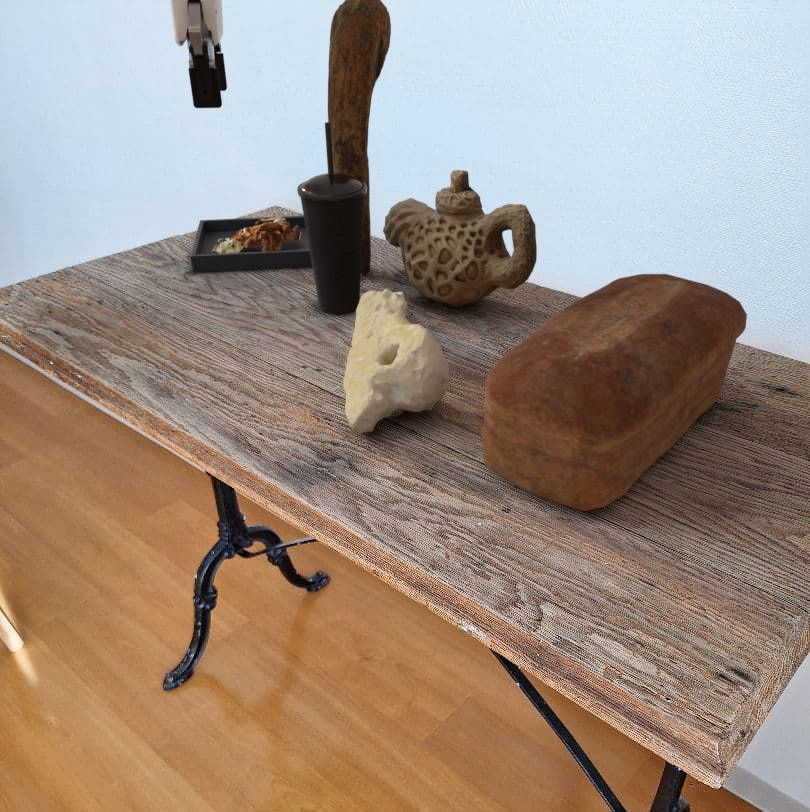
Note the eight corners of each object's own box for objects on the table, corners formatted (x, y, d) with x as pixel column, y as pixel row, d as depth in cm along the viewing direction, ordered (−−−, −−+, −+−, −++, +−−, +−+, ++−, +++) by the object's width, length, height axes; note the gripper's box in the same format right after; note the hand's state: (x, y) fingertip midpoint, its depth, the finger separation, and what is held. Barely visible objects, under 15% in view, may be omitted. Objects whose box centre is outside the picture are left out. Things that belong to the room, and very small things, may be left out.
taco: (206, 250, 110) (201, 223, 108) (280, 230, 116) (278, 204, 114) (232, 265, 106) (228, 237, 104) (308, 244, 112) (306, 217, 110)
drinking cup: (358, 322, 94) (349, 134, 81) (297, 314, 96) (279, 129, 83) (379, 296, 99) (374, 116, 87) (321, 289, 101) (307, 112, 88)
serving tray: (193, 272, 106) (190, 256, 105) (202, 234, 117) (199, 220, 115) (324, 266, 107) (323, 250, 106) (321, 229, 118) (320, 214, 117)
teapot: (359, 294, 100) (353, 164, 90) (419, 267, 107) (419, 143, 97) (500, 344, 89) (511, 203, 80) (557, 310, 96) (573, 176, 86)
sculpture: (396, 262, 108) (392, -8, 89) (389, 284, 102) (383, 0, 83) (345, 261, 109) (330, -9, 89) (335, 282, 103) (317, 0, 84)
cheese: (433, 470, 74) (506, 328, 75) (378, 432, 69) (456, 281, 71) (343, 446, 86) (407, 323, 87) (291, 411, 81) (360, 282, 82)
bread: (740, 398, 80) (775, 277, 72) (600, 541, 63) (627, 403, 55) (613, 358, 86) (632, 243, 79) (456, 477, 70) (461, 346, 62)
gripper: (162, -84, 93) (186, 85, 104) (141, -78, 80) (171, 115, 90) (228, -84, 94) (246, 84, 104) (218, -78, 80) (239, 114, 91)
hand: (211, 98), depth 97 cm, fingers open, 9 cm apart
